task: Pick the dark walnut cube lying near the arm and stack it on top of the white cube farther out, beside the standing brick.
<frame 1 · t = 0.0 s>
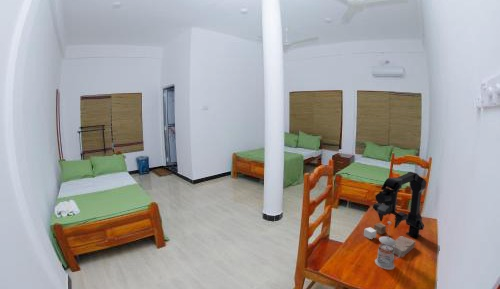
hand: (388, 224, 155), 15 cm above the table, fingers open, 9 cm apart
white cube: (369, 236, 169), on the table
walnut cube: (379, 231, 175), on the table
brick: (401, 250, 155), on the table
french press: (386, 264, 142), on the table
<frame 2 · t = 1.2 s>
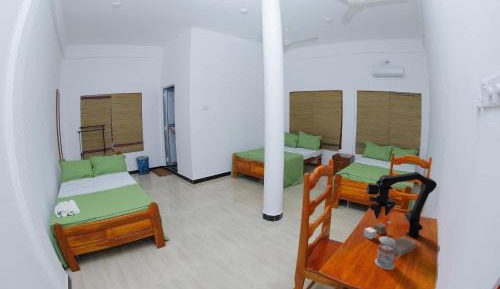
hand: (381, 217, 172), 11 cm above the table, fingers open, 9 cm apart
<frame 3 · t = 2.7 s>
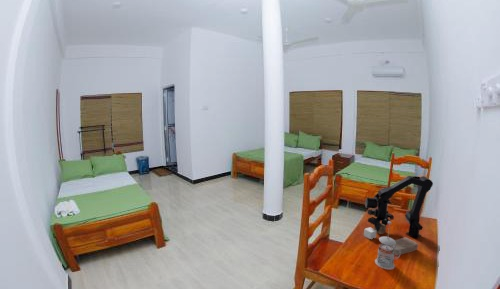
hand: (379, 230, 174), 1 cm above the table, fingers closed on walnut cube, 5 cm apart
walnut cube: (379, 231, 175), on the table, touching gripper
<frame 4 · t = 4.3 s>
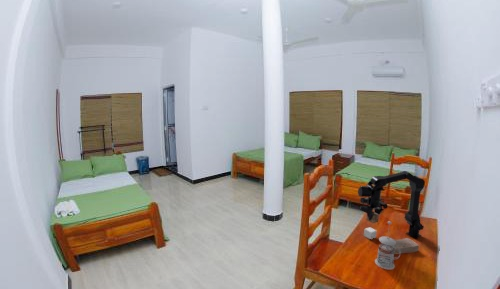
hand: (372, 219, 167), 12 cm above the table, fingers closed on walnut cube, 5 cm apart
walnut cube: (372, 220, 168), point 10 cm above the table, touching gripper
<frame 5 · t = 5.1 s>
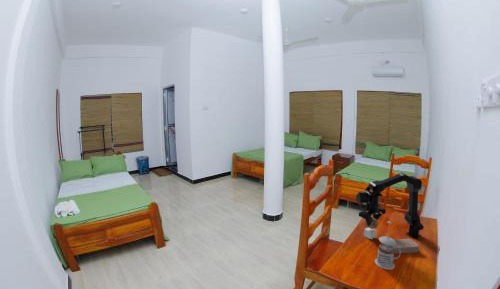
hand: (371, 224, 167), 8 cm above the table, fingers closed on walnut cube, 5 cm apart
walnut cube: (370, 226, 167), point 7 cm above the table, touching gripper
when the fingers open (6 cm above the table, at t = 5.9 s): walnut cube stays where it is, resting on white cube.
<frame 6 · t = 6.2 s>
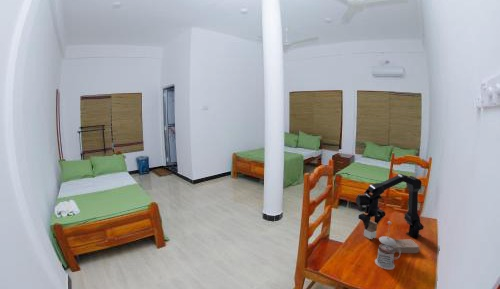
hand: (370, 227, 167), 6 cm above the table, fingers open, 9 cm apart
white cube: (369, 236, 169), on the table, touching walnut cube
walnut cube: (370, 229, 168), point 5 cm above the table, touching white cube
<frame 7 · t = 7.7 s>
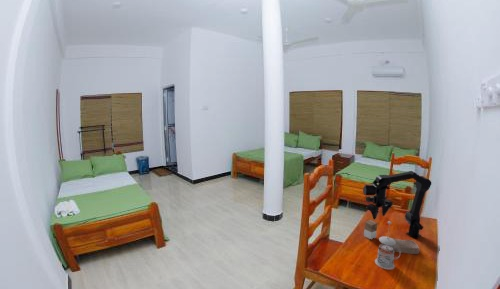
hand: (378, 217, 170), 11 cm above the table, fingers open, 9 cm apart
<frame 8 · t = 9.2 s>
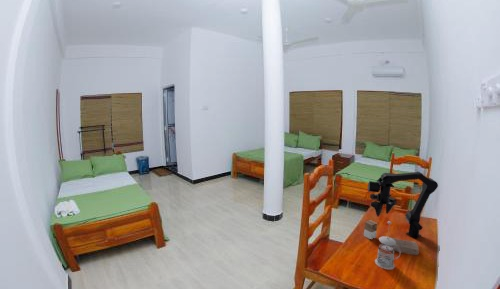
hand: (382, 214, 173), 12 cm above the table, fingers open, 9 cm apart
at the end: walnut cube 0.1 cm off-centre on the white cube, point 5.0 cm above the white cube's base; walnut cube tilted 0°; white cube moved 0.1 cm from its start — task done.
